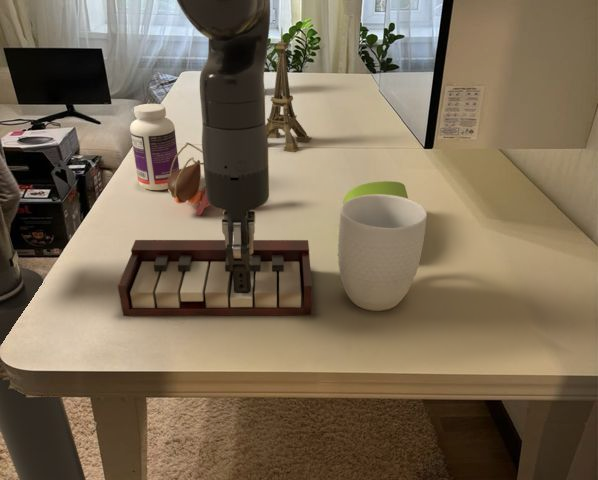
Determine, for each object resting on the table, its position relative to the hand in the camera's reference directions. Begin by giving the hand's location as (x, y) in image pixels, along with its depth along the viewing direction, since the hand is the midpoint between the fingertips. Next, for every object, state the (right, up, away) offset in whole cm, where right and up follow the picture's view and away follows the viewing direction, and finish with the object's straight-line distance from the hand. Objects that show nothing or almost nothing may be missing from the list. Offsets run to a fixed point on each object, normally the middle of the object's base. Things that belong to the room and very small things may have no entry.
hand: (242, 290), depth 79 cm
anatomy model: (-7, +18, +29) cm, 34 cm away
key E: (-7, +1, +2) cm, 7 cm away
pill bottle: (-20, +24, +37) cm, 48 cm away
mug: (+19, 0, +4) cm, 19 cm away
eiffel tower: (+4, +40, +60) cm, 72 cm away
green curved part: (+21, +11, +20) cm, 31 cm away
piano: (-3, 0, +4) cm, 5 cm away
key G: (0, 0, +3) cm, 3 cm away
